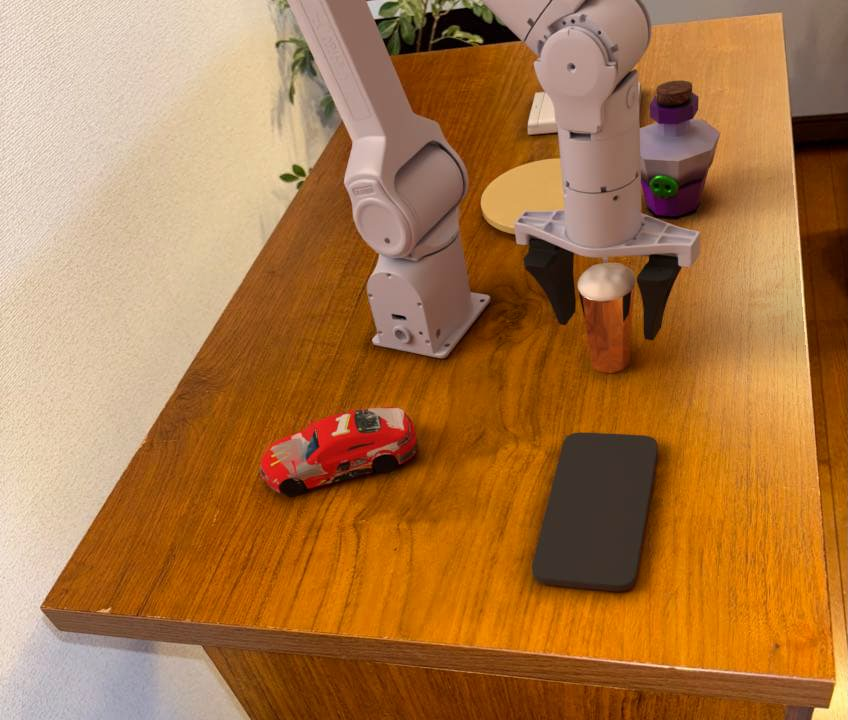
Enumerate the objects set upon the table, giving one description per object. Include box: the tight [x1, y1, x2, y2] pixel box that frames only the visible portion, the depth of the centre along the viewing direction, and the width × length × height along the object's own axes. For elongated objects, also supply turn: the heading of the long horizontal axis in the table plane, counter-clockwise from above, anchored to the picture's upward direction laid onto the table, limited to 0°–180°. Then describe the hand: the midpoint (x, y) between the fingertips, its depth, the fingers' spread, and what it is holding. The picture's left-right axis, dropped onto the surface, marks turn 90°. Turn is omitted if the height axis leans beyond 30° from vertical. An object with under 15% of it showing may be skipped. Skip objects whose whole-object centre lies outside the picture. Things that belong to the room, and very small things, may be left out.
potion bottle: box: [640, 79, 721, 220], centre depth 94 cm, size 9×9×12 cm
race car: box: [259, 406, 419, 497], centre depth 80 cm, size 13×5×4 cm, turn 98°
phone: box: [531, 431, 659, 592], centre depth 73 cm, size 7×1×15 cm
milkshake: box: [577, 257, 636, 374], centre depth 81 cm, size 4×5×10 cm
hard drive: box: [527, 82, 643, 136], centre depth 114 cm, size 2×8×12 cm
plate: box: [480, 157, 564, 235], centre depth 103 cm, size 14×14×1 cm
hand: (609, 325), depth 82 cm, fingers open, 7 cm apart
